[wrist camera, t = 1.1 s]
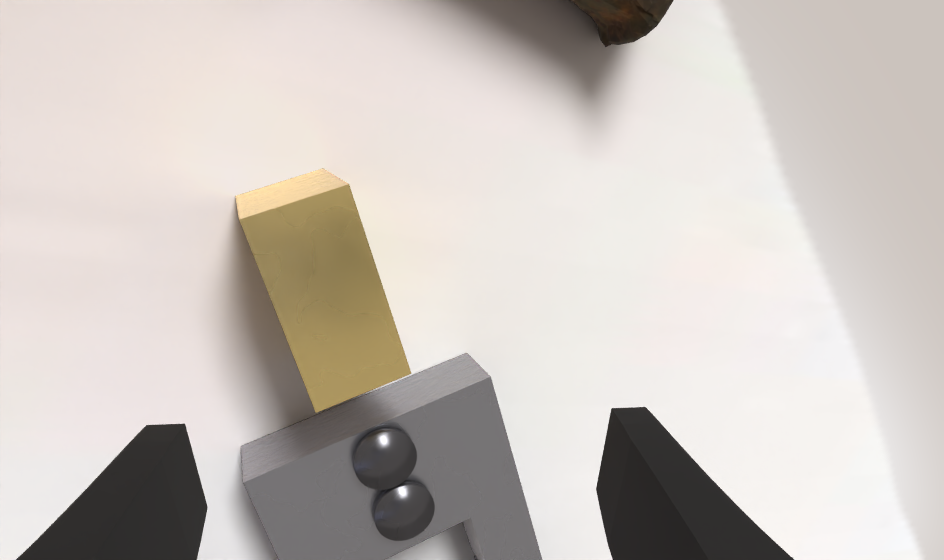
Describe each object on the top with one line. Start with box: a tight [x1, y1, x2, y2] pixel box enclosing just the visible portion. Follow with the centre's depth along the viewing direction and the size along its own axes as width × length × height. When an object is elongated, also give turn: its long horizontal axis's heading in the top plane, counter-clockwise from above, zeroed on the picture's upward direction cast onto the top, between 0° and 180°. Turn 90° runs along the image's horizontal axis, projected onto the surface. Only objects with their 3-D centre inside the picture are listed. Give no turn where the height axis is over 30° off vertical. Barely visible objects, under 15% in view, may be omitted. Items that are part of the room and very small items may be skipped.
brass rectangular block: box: [235, 169, 411, 413], centre depth 21 cm, size 6×3×5 cm, turn 16°
